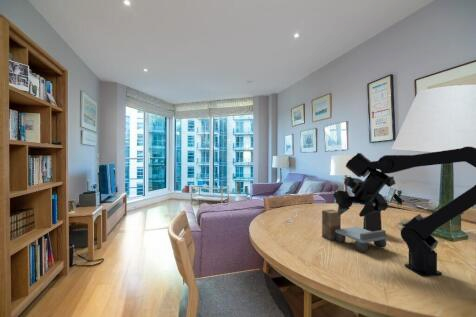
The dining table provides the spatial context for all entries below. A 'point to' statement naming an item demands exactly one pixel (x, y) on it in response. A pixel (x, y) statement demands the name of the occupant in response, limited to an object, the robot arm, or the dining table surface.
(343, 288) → the dining table surface
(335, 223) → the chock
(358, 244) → the dolly
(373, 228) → the door stopper
